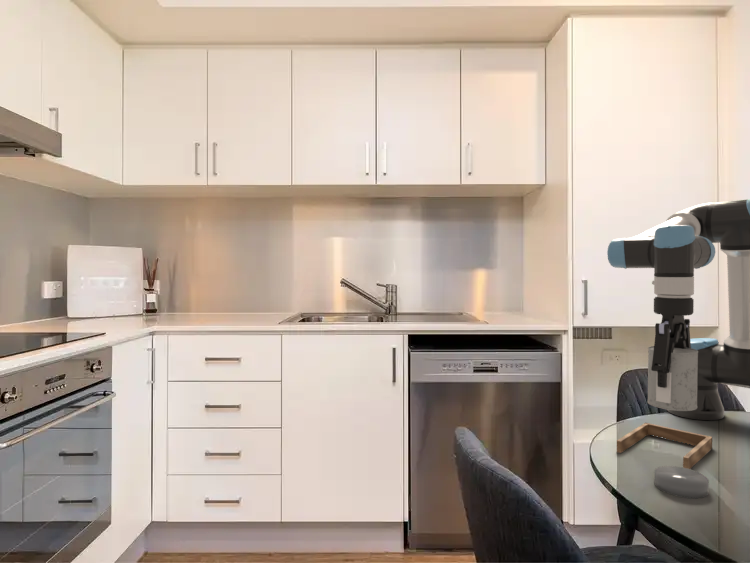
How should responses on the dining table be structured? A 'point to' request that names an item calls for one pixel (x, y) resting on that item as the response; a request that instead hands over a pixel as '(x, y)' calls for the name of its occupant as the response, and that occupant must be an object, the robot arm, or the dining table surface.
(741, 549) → the dining table surface
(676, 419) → the dining table surface
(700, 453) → the frame
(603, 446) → the dining table surface
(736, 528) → the dining table surface
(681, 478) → the pedestal
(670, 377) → the robot arm
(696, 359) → the grey marbled pot
